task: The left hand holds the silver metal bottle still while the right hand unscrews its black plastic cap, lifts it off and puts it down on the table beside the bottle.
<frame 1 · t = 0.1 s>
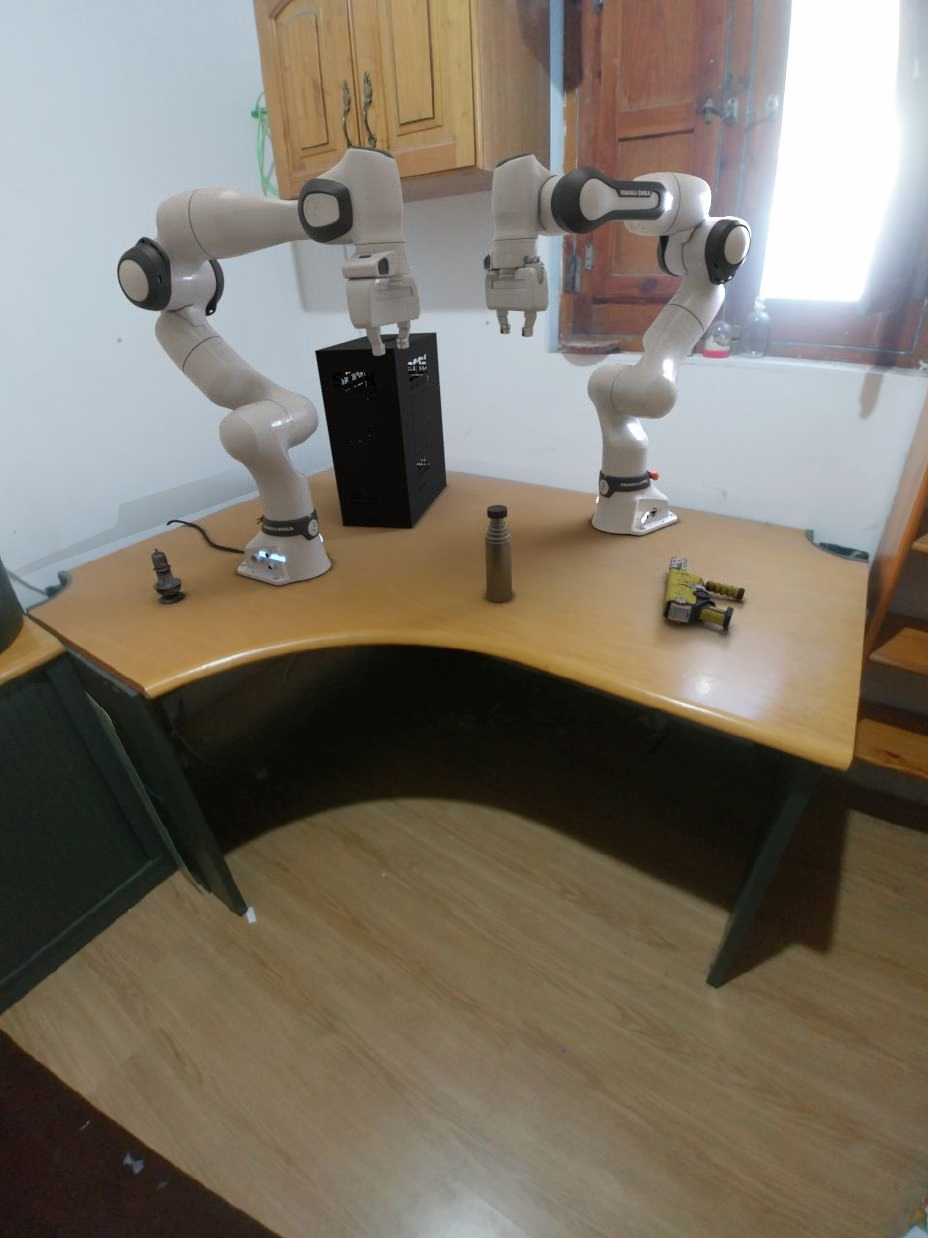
left hand: (391, 351, 111), 48 cm above the table, tool pointing down, fingers open, 8 cm apart
right hand: (516, 335, 125), 48 cm above the table, tool pointing down, fingers open, 8 cm apart
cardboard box: (398, 504, 182), on the table
bottle: (499, 596, 128), on the table
toy gun: (703, 602, 121), on the table
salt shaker: (172, 598, 135), on the table
cap: (497, 509, 118), point 19 cm above the table, screwed on, not yet turned
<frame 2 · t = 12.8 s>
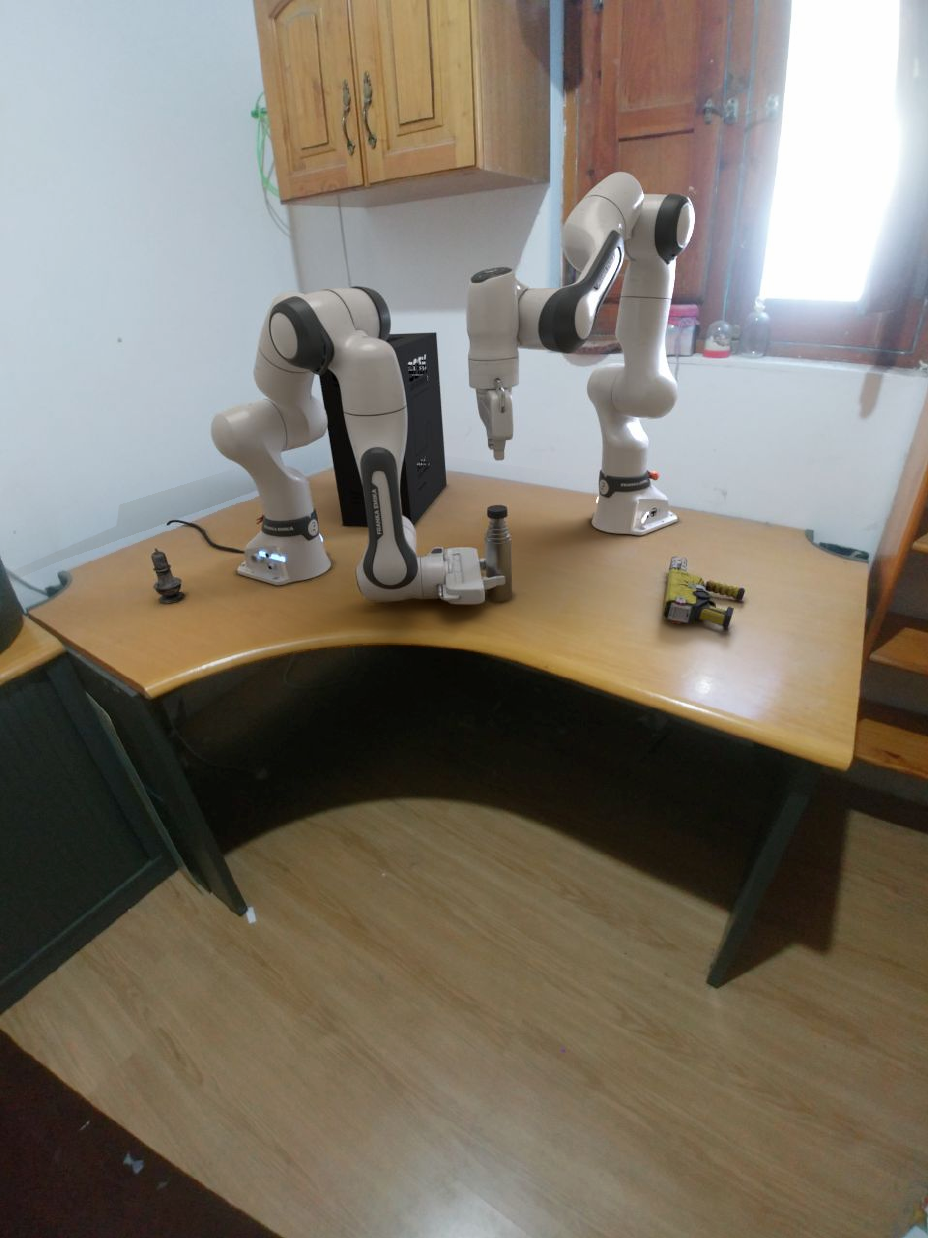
left hand: (503, 572, 125), 6 cm above the table, tool horizontal, fingers closed on bottle, 5 cm apart
right hand: (495, 453, 113), 30 cm above the table, tool pointing down, fingers open, 6 cm apart
bottle: (499, 596, 128), on the table, touching left hand
everything else where it was.
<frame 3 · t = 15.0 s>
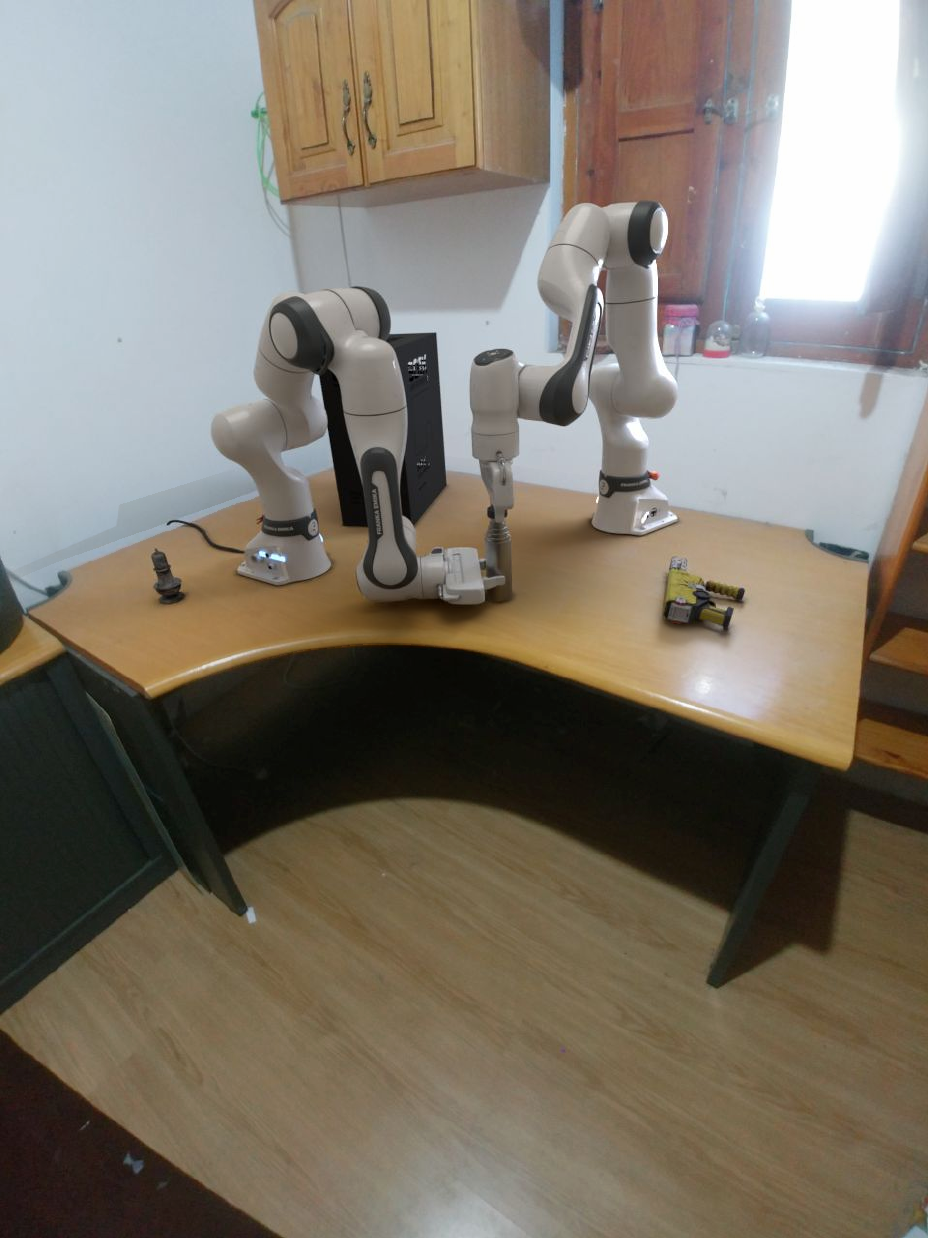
left hand: (503, 572, 125), 6 cm above the table, tool horizontal, fingers closed on bottle, 5 cm apart
right hand: (497, 516, 119), 18 cm above the table, tool pointing down, fingers closed on cap, 4 cm apart
bottle: (499, 596, 128), on the table, touching left hand
cap: (497, 509, 118), point 19 cm above the table, screwed on, not yet turned, touching right hand
everything else where it was.
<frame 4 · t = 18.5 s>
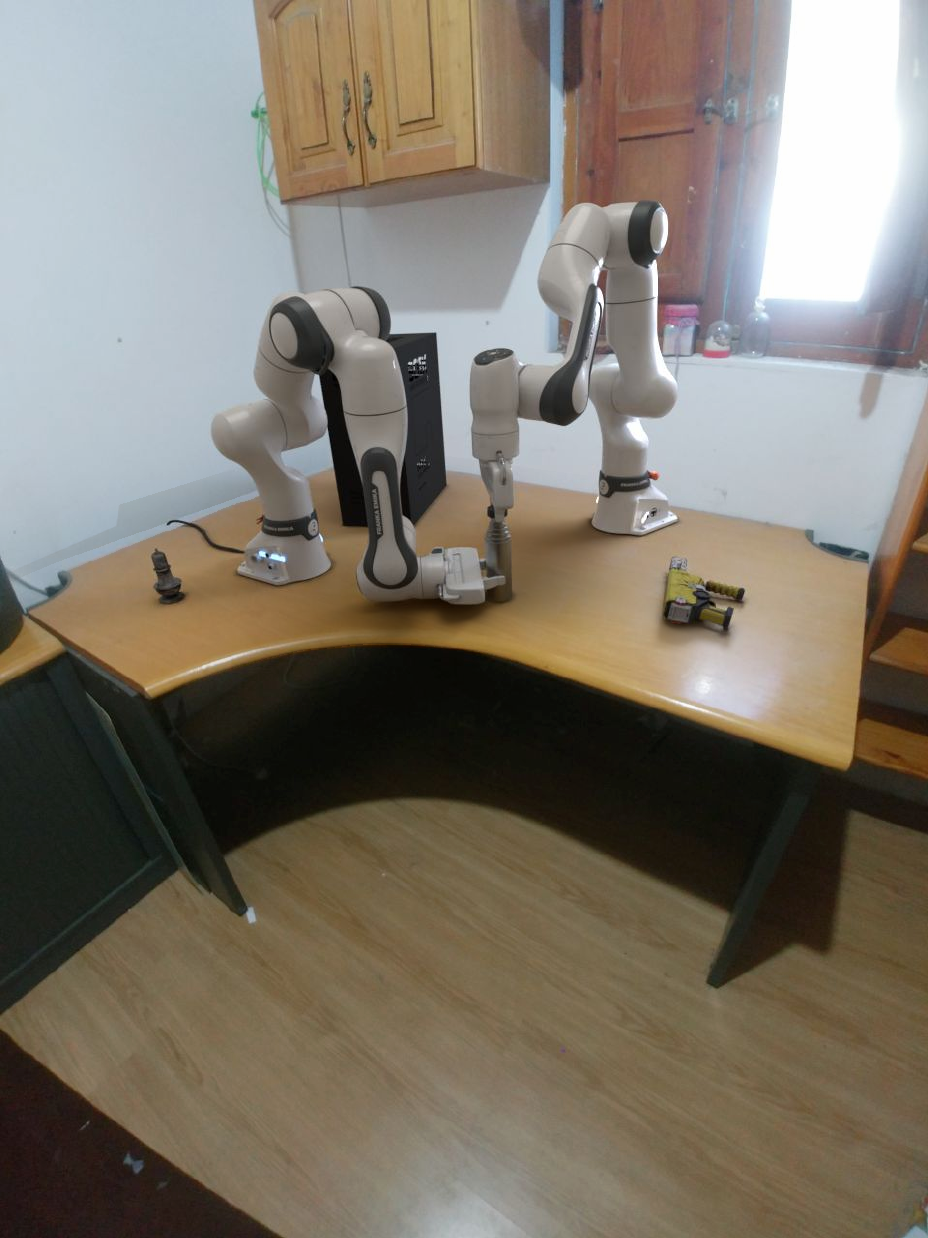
left hand: (503, 572, 125), 6 cm above the table, tool horizontal, fingers closed on bottle, 5 cm apart
right hand: (497, 516, 119), 18 cm above the table, tool pointing down, fingers closed on cap, 4 cm apart
bottle: (499, 596, 128), on the table, touching left hand
cap: (497, 509, 118), point 19 cm above the table, turned 88° so far, risen 0.1 cm, still on its thread, touching right hand
everything else where it was.
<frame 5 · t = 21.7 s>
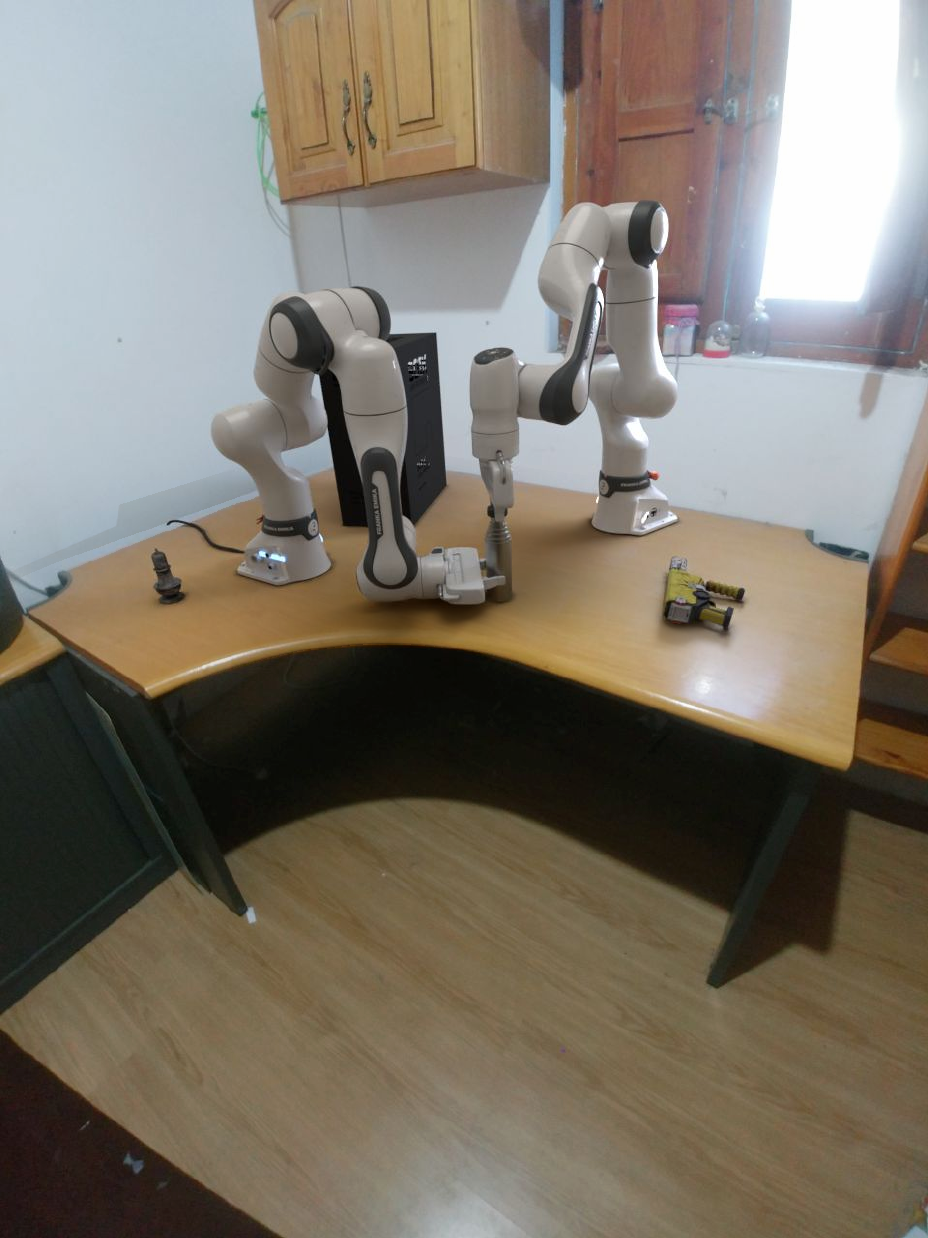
left hand: (503, 572, 125), 6 cm above the table, tool horizontal, fingers closed on bottle, 5 cm apart
right hand: (497, 515, 119), 18 cm above the table, tool pointing down, fingers closed on cap, 4 cm apart
bottle: (499, 596, 128), on the table, touching left hand
cap: (497, 508, 118), point 20 cm above the table, turned 176° so far, risen 0.2 cm, still on its thread, touching right hand
everything else where it was.
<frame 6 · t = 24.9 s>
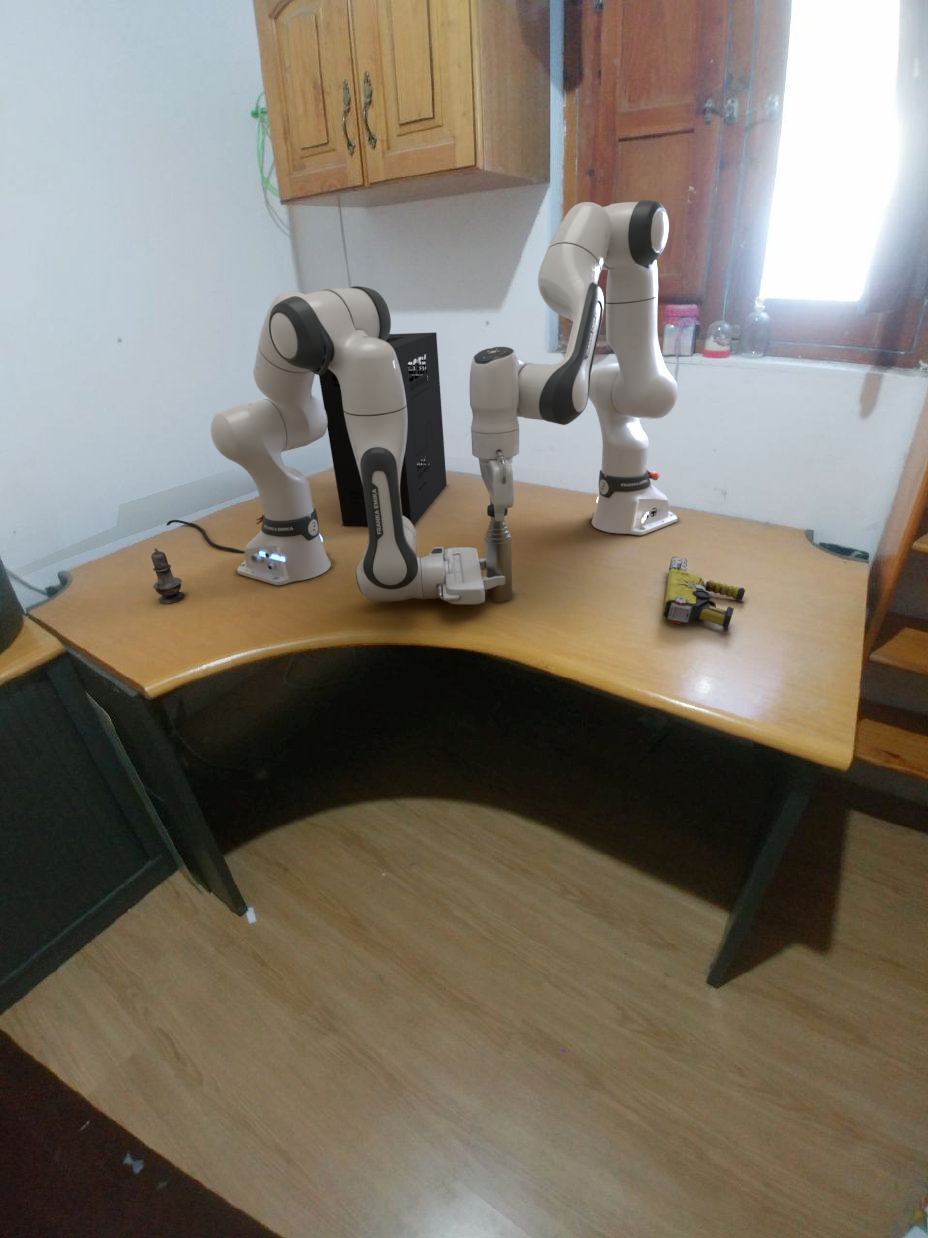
left hand: (503, 572, 125), 6 cm above the table, tool horizontal, fingers closed on bottle, 5 cm apart
right hand: (497, 515, 119), 18 cm above the table, tool pointing down, fingers closed on cap, 4 cm apart
bottle: (499, 596, 128), on the table, touching left hand
cap: (497, 508, 118), point 20 cm above the table, turned 264° so far, risen 0.3 cm, still on its thread, touching right hand
everything else where it was.
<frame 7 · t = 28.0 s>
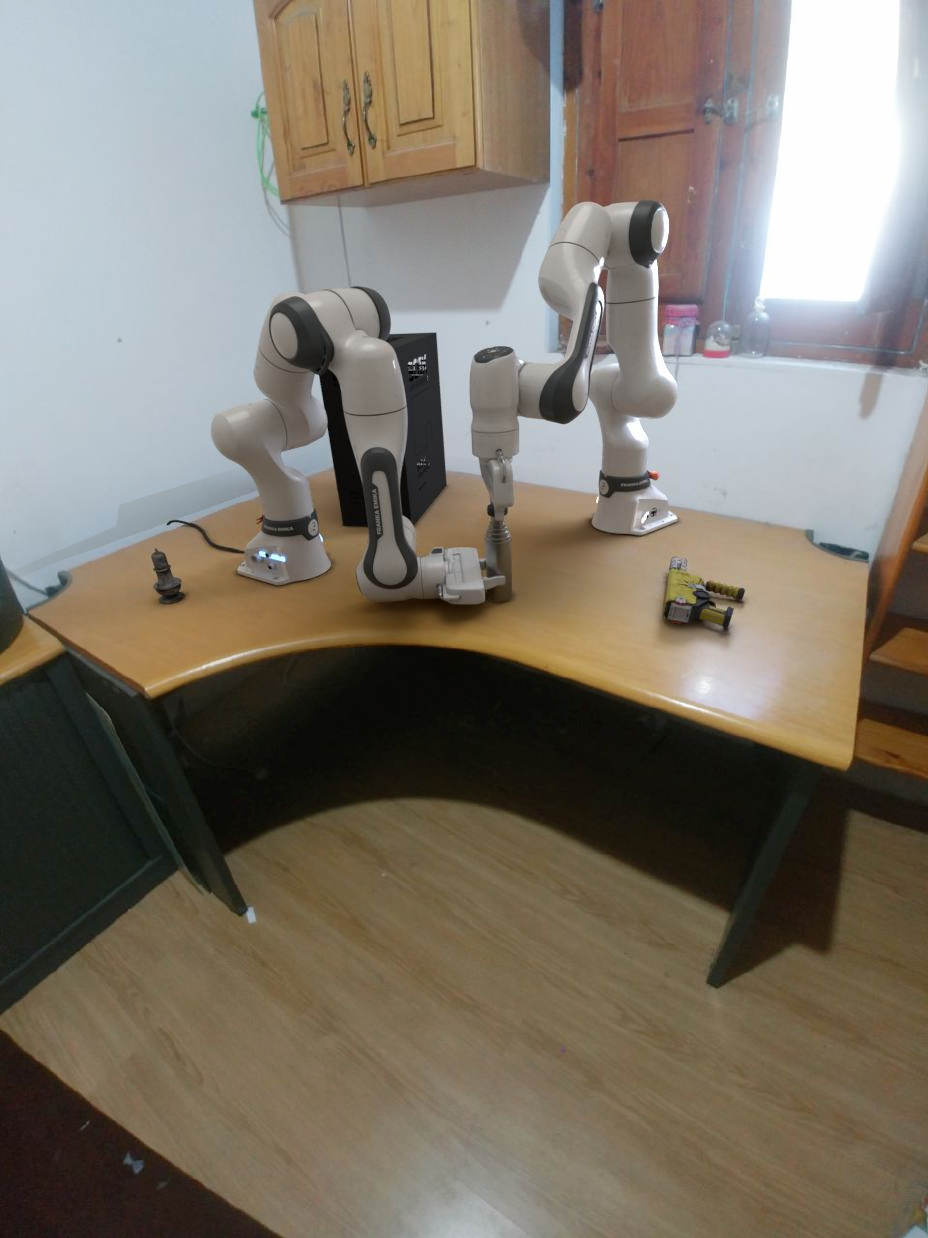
left hand: (503, 572, 125), 6 cm above the table, tool horizontal, fingers closed on bottle, 5 cm apart
right hand: (497, 514, 119), 18 cm above the table, tool pointing down, fingers closed on cap, 4 cm apart
bottle: (499, 596, 128), on the table, touching left hand
cap: (497, 507, 118), point 20 cm above the table, turned 352° so far, risen 0.4 cm, still on its thread, touching right hand
everything else where it was.
when the right hand's fingers open (2 cm above the table, at t = 34.6 s): cap drops 2 cm, point 1 cm above the table.
when the left hand's fingers open (6 cm above the table, at t = 35.8 s): bottle stays where it is, on the table.
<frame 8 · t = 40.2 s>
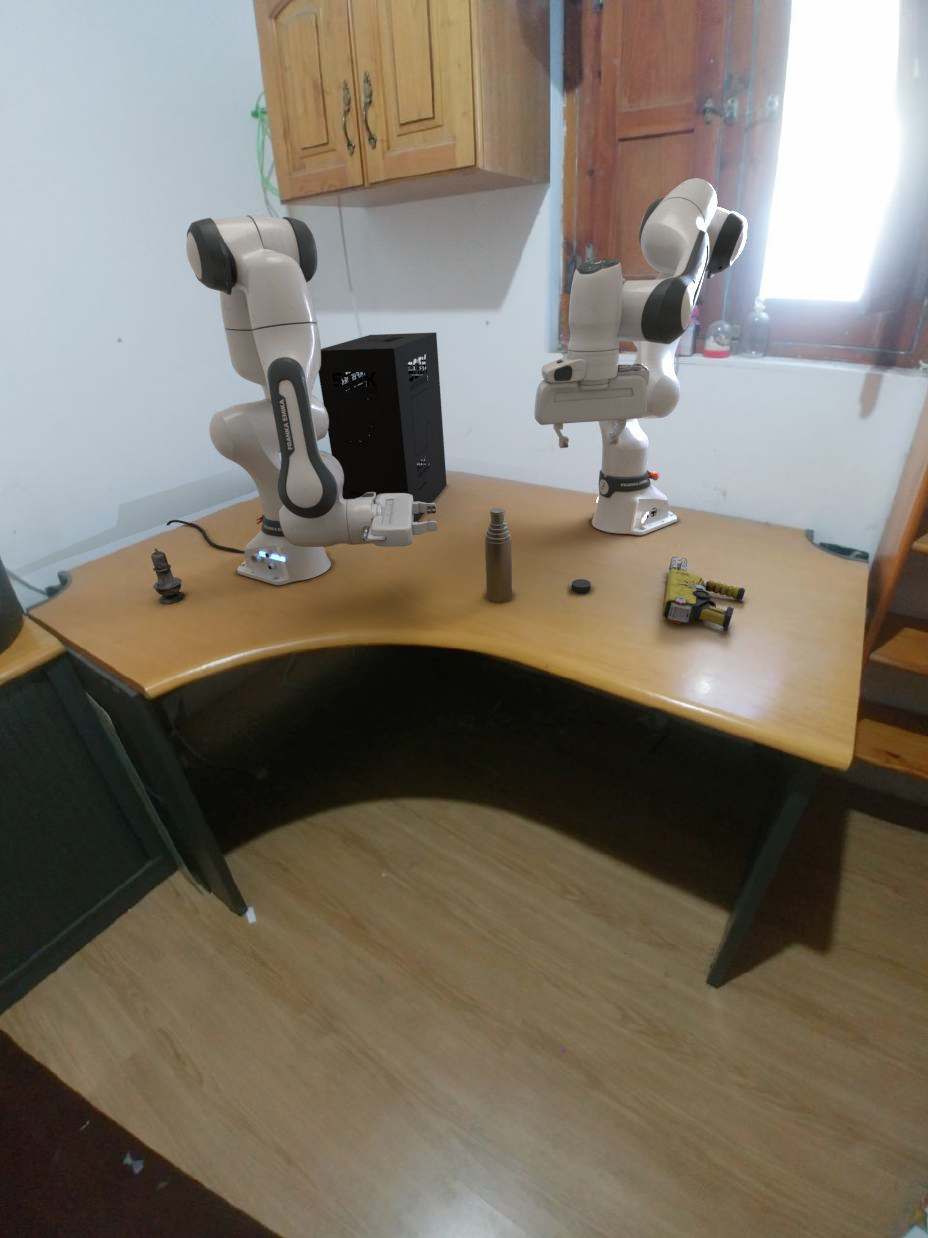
left hand: (436, 516, 118), 19 cm above the table, tool horizontal, fingers open, 8 cm apart
right hand: (588, 445, 113), 30 cm above the table, tool pointing down, fingers open, 8 cm apart
bottle: (499, 596, 128), on the table
cap: (581, 584, 128), point 1 cm above the table, off its thread
everything else where it was.
at the end: cap came off its thread; cap point 1.2 cm above the table; the left hand is holding nothing; the right hand is holding nothing; bottle tilted 0°; bottle moved 0.0 cm from its start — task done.
